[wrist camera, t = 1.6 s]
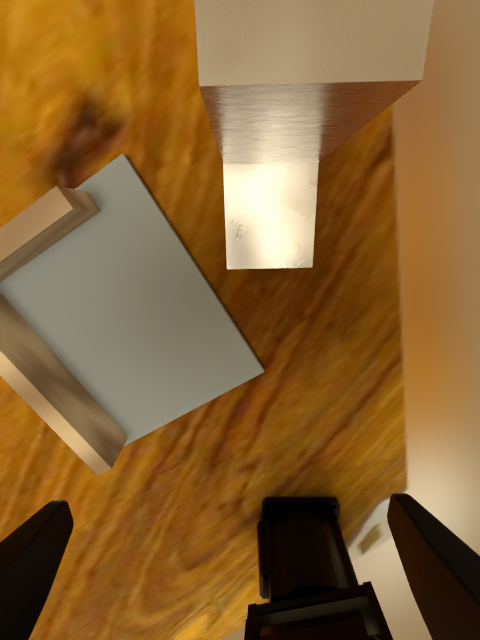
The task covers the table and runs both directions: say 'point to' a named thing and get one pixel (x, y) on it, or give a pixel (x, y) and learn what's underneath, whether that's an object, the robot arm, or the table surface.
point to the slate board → (131, 310)
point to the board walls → (33, 354)
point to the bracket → (296, 104)
